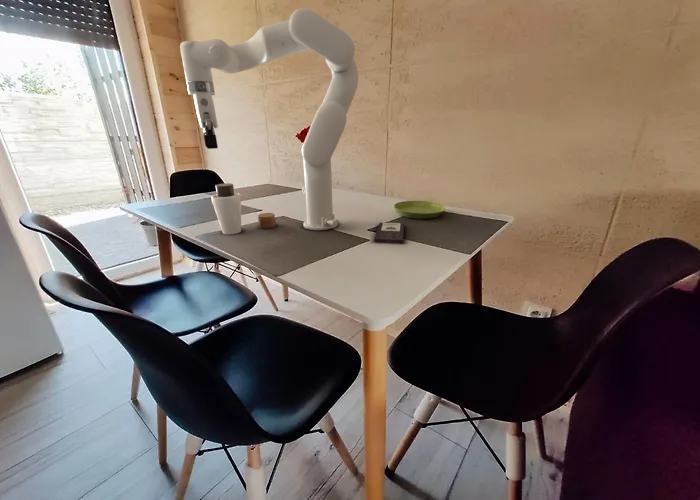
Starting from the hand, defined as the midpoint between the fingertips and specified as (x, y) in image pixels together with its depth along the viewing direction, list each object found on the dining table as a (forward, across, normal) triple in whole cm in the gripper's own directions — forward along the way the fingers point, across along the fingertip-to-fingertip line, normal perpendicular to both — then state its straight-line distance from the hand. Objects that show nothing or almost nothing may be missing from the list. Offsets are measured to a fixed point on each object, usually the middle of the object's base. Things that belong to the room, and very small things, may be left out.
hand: (211, 147), depth 102 cm
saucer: (+29, -16, -74) cm, 81 cm away
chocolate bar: (+29, -32, -50) cm, 66 cm away
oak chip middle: (+26, -3, -14) cm, 30 cm away
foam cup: (+29, -3, -2) cm, 29 cm away
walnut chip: (+15, -3, -2) cm, 16 cm away
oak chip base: (+28, -3, -14) cm, 32 cm away
